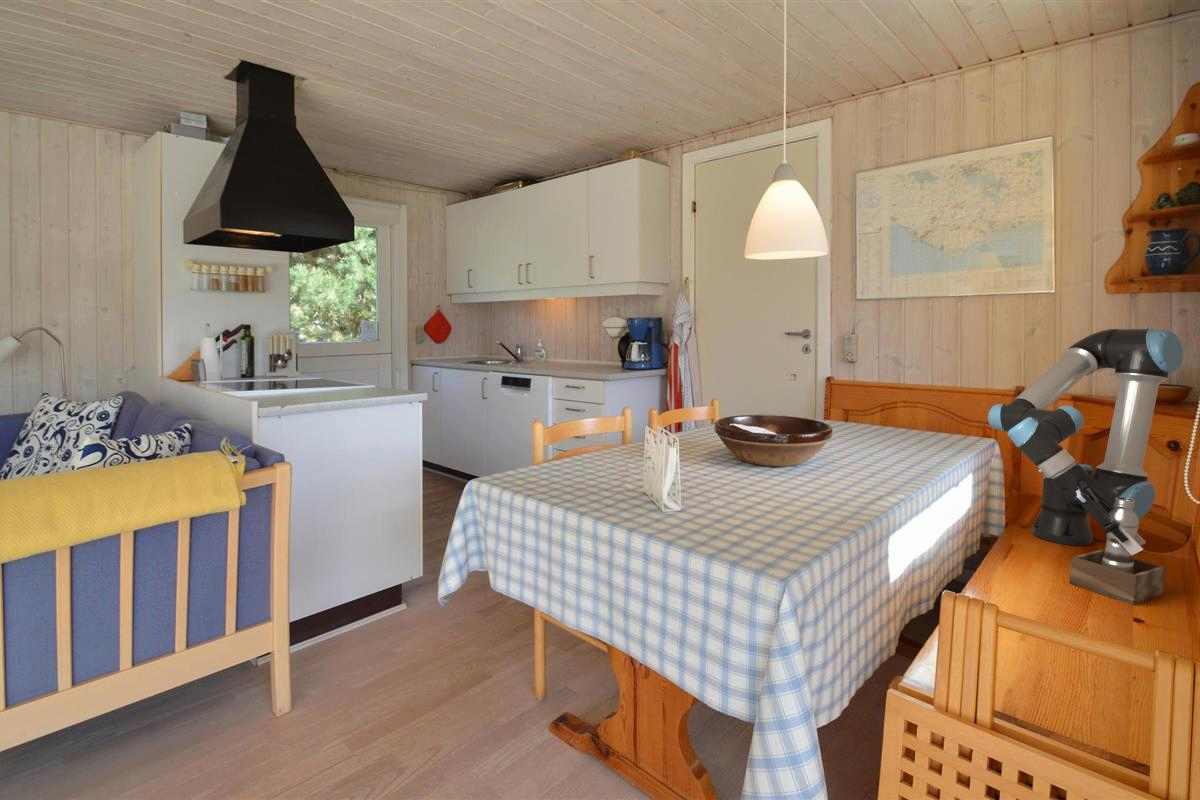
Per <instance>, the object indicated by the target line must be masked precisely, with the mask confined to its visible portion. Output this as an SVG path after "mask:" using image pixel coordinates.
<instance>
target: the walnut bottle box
mask: <svg viewBox="0 0 1200 800" xmlns="http://www.w3.org/2000/svg"><path fill="white" fill-rule="evenodd" d="M1104 553H1105V549H1099V550H1095V551H1091V552H1087V553H1082V554H1079V555H1074V556H1072V557H1071V565H1070V574H1069V582H1068V583H1069V585H1071V584H1072V586H1074V585H1075V587H1077V586H1078V587H1077V588H1080V587H1081V589H1083V588H1084V590H1086V589H1087V590H1086V591H1089V590H1090V592H1092V591H1093V593H1095V592H1096V594H1099V595H1101V596H1105V597H1108V598H1111V599H1113V598H1115V599H1114V600H1116V599H1118V600H1117V601H1119V600H1120V602H1122V601H1124V602H1123V603H1125V602H1126V604H1128V603H1129V604H1128V605H1131V604H1132V605H1131V606H1135V605H1137V603H1138V604H1140V602H1141V603H1143V601H1144V602H1146V600H1147V601H1150V600H1153V599H1155V597H1156V598H1158V596H1159V597H1161V595H1162V596H1163V595H1164V589H1165V581H1166V574H1167V573H1166V571H1167V566H1163V565H1159V564H1155V563H1152V562H1147V561H1145V560H1141V559H1137V558H1134V557H1133V563H1134V573H1133V574H1131V573H1127V572H1124V571H1121V570H1117V569H1114V568H1110V567H1107V566H1104V565H1101V562H1102V559H1103V557H1104ZM1152 598H1153V599H1152ZM1149 599H1150V600H1149ZM1134 604H1135V605H1134Z"/></svg>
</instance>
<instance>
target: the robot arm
mask: <svg viewBox="0 0 1200 800" xmlns="http://www.w3.org/2000/svg"><path fill="white" fill-rule="evenodd" d="M1183 359H1184V348H1183V345H1182V342H1181V340H1180V337H1179V336H1178V335H1177V334H1176V333H1175V332H1173V331H1171V330H1168V329H1167V330H1166V329H1157V328H1139V329H1138V328H1136V329H1135V328H1128V329H1127V328H1126V329H1125V328H1123V329H1122V328H1110V329H1104V330H1100V331H1097V332H1094V333H1092V334H1090V335H1087V336H1086V337H1084V338H1082V339H1080V340H1078V341H1076V342H1075V343H1073V344H1072V345H1071V346H1070V347H1068V348H1067V349H1066V350H1065V351H1064V352H1063V354H1062V356H1061V359H1060V360H1059V361H1058V362H1057V363H1055V364H1054V365H1053V366H1052V367H1050V368H1049V369H1048V370H1047V371H1046V372H1045V373H1044V374H1042V375H1041V376H1040V377H1038V379H1036V380H1035V381H1034V382H1032V384H1031V385H1029V386H1028V387H1027V388H1026V389H1025V390H1023V391H1022V392H1021V393H1020V394H1019V395H1017V396H1016V397H1014V399H1013V400H1011V402H1009V403H1008V404H1005V403H1002V404H999V403H998V404H994V405H993V406H992V407H990V409H989V411H988V413H987V414H988V415H987V421H988V424H989V426H990V427H991V428H992V429H995V430H998V431H1003V432H1007V436H1008V437H1009V439H1010V440H1011V441H1012V443H1013V444H1014V445H1015V446H1016V448H1018V449H1019V450H1020V451H1021V452H1022V453H1023V454H1024V455H1025V456H1026V457H1027V458H1028V459H1029V460H1030V461H1031V462H1032V463H1033V465H1035V466H1036V467H1037V468H1038V472H1039V473H1040V474H1042V473H1043V477H1042V479H1043V481H1042V482H1043V483H1042V494H1041V495H1042V496H1041V505H1040V511H1039V512H1038V515H1037V517H1036V519H1035V521H1034V523H1033V524H1032V528H1031V530H1032V531H1031V534H1033V536H1035V537H1037V538H1039V539H1041V540H1045V541H1047V542H1048V541H1049V542H1052V543H1057V544H1062V545H1069V546H1088V545H1091V544H1093V538H1094V537H1093V532H1092V528H1091V524H1090V522H1089V517H1088V516H1089V515H1090V516H1091V518H1093V520H1094V521H1095V522H1096V523H1097V524H1098V525H1099V526H1100V527H1101V528H1102V530H1103V532H1104V534H1106V535H1107V533H1109V532H1110V533H1111V534H1112V535H1113V536H1114V537H1115V538H1116V539H1117V541H1118V542H1119V543H1120V544H1121V545H1122V546H1123V547H1124V548H1125V549H1126V550H1127V551H1128V552H1129V553H1130V554H1131V555H1133V556H1134V555H1135V554H1139V552H1141V551H1143V550H1144V548H1143V547H1142V545H1144V544H1146V540H1145V539H1144V538H1142V536H1141V535H1140V534H1139V533H1138V532H1137V533H1136V537H1135V540H1134V539H1133V538H1132V537H1131V536H1130V535H1129V534H1128V533H1127V532H1126V531H1125V530H1124V529H1123V528H1122V527H1121V526H1120V527H1119V525H1118V524H1117V523H1116V522H1115V521H1114V520H1113V518H1112V517H1111V516H1110V515H1109V513H1110V511H1112V510H1113V509H1114V508H1115V507H1116V506H1115V505H1114V503H1115V499H1116V497H1124V498H1130V499H1133V500H1134V508H1132V509H1133V511H1134V513H1135V514H1136V515H1137V517H1138V519H1139V520H1141V518H1143V517H1145V516H1146V515H1147V514H1148V513H1149V511H1150V510H1151V509H1152V506H1153V504H1154V502H1155V497H1156V491H1155V490H1156V489H1155V487H1154V485H1153V484H1152V483H1150V482H1149V481H1148V478H1149V475H1148V474H1147V472H1146V471H1145V470H1144V469H1143V466H1144V462H1145V457H1146V454H1147V453H1146V452H1147V447H1148V442H1149V437H1150V431H1151V426H1152V422H1153V415H1154V412H1155V406H1156V402H1157V396H1158V392H1159V387H1160V385H1161V384H1162V383H1164V382H1165V381H1167V380H1168V377H1169V373H1170V374H1171V373H1174V372H1175V373H1176V372H1177V371H1178V370H1179V369H1180V366H1181V365H1182V363H1183ZM1102 369H1103V370H1104V369H1114V376H1116V377H1117V379H1118V380H1119V383H1118V389H1117V394H1116V398H1115V405H1114V410H1113V414H1112V421H1111V425H1110V429H1109V430H1110V431H1109V436H1108V440H1107V444H1106V445H1107V446H1106V451H1105V456H1104V460H1103V462H1102V463H1100V464H1099V465H1097V466H1096V467H1095V472H1094V469H1093V466H1092V465H1089V464H1083V463H1076V459H1075V458H1074V457H1073V456H1072V455H1070V454H1069V452H1068V451H1067V450H1066V449H1064V448H1063V447H1062V445H1060V443H1062V442H1063V441H1065V440H1067V439H1068V438H1071V437H1072V436H1074V435H1076V433H1077V432H1078V431H1079V430H1080V429H1082V428H1083V426H1084V423H1085V419H1084V416H1083V414H1082V413H1081V412H1080V410H1078V409H1077V408H1075V407H1073V406H1070V405H1062V406H1060V407H1057V408H1055V409H1054V410H1051V409H1050V410H1049V409H1048V408H1049V407H1051V405H1053V404H1054V403H1055V402H1056V401H1057V400H1059V399H1060V398H1061V397H1062V396H1063V395H1064V394H1065V393H1067V392H1068V391H1069V390H1070V389H1071V388H1072V387H1074V386H1075V385H1076V384H1077V383H1078V382H1079V381H1080V380H1081V379H1083V378H1084V377H1085V376H1090V375H1093V374H1095V372H1096V371H1099V370H1102ZM1088 514H1089V515H1088Z"/></svg>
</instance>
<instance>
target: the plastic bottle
mask: <svg viewBox="0 0 1200 800" xmlns="http://www.w3.org/2000/svg"><path fill="white" fill-rule="evenodd" d="M1114 505H1115V506H1116V507H1115V508H1114V509H1113V510H1112V511H1110V513H1109V515H1110V516H1111V517H1112V518H1113V520H1114V521H1115V522H1116V523H1117V524H1118V525H1119V527H1120V526H1121V527H1122V528H1123V529H1124V530H1125V531H1126V532H1127V533H1128V534H1129V535H1130V536H1131V537H1132V538H1133V539H1134V540H1135V537H1136V533H1138V530H1139V526H1140V519H1138V517H1137V515H1136V514H1135V513H1134V511H1133V509H1132V508H1134V500H1133V499H1130V498H1124V497H1116V499H1115V503H1114ZM1105 543H1106V544H1105V548H1104V550H1105V553H1104V557H1103V559H1102V562H1101V565H1104V566H1107V567H1110V568H1114V569H1117V570H1121V571H1124V572H1127V573H1131V574H1133V573H1134V563H1133V558H1134V555H1131V554H1130V553H1129V552H1128V551H1127V550H1126V549H1125V548H1124V547H1123V546H1122V545H1121V544H1120V543H1119V542H1118V541H1117V539H1116V538H1115V537H1114V536H1113V535H1112V534H1111V533H1110V532H1109V533H1107V534H1106V542H1105Z"/></svg>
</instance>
